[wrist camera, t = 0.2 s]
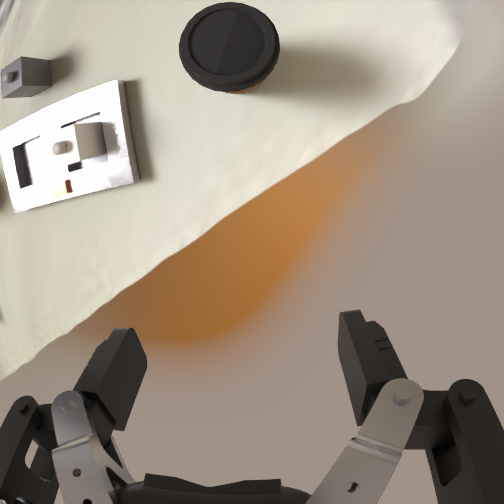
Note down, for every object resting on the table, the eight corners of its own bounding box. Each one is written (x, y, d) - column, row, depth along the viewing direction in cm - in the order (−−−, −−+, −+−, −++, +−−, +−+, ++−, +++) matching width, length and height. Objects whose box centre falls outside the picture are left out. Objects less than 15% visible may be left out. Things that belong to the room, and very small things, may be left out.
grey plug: (29, 71, 30) (-5, 70, 23) (49, 60, 30) (15, 55, 23) (30, 96, 32) (-4, 98, 25) (51, 86, 32) (16, 85, 25)
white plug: (75, 130, 35) (40, 136, 27) (101, 121, 34) (68, 124, 27) (80, 160, 36) (47, 172, 29) (106, 153, 36) (74, 162, 29)
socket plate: (7, 131, 34) (-5, 133, 31) (125, 81, 33) (114, 78, 30) (23, 208, 40) (11, 214, 37) (140, 179, 38) (131, 184, 35)
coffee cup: (281, 51, 31) (295, 12, 17) (261, 110, 34) (262, 102, 21) (217, 34, 30) (193, -11, 17) (197, 92, 34) (160, 77, 20)
